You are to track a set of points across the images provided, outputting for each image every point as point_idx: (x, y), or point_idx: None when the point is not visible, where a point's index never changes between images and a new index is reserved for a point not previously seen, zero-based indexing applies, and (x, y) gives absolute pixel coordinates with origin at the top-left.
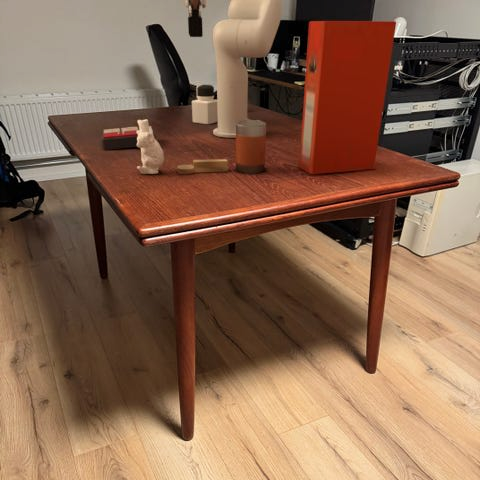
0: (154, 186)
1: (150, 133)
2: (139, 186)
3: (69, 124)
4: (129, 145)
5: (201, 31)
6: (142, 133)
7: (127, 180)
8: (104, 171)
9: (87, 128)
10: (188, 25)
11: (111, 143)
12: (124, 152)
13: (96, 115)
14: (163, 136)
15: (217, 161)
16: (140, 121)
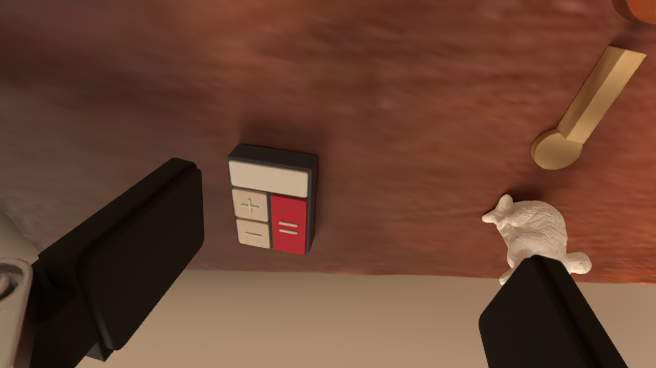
0: (610, 224)
1: (587, 270)
2: (589, 244)
3: None
4: (314, 207)
5: (571, 295)
6: None
7: None
8: (458, 266)
9: None
10: (158, 293)
11: (311, 237)
12: (338, 216)
13: (16, 199)
14: (209, 115)
15: (625, 84)
16: None
